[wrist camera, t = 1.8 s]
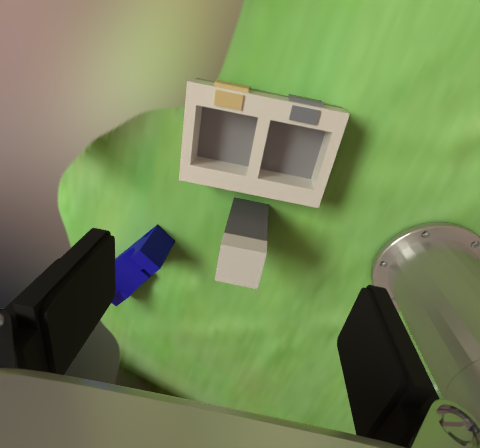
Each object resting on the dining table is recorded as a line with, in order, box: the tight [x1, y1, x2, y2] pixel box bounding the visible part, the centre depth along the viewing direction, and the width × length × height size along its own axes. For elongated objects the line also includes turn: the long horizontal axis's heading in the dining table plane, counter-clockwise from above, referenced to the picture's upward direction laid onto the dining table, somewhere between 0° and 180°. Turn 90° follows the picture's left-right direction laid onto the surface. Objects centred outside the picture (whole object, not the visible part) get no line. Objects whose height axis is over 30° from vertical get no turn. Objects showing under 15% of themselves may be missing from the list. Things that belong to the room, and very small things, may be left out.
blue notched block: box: [111, 224, 175, 306], centre depth 39 cm, size 12×4×6 cm, turn 131°
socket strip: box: [179, 78, 350, 208], centre depth 30 cm, size 14×9×4 cm, turn 80°
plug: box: [215, 198, 269, 289], centre depth 32 cm, size 4×4×10 cm
